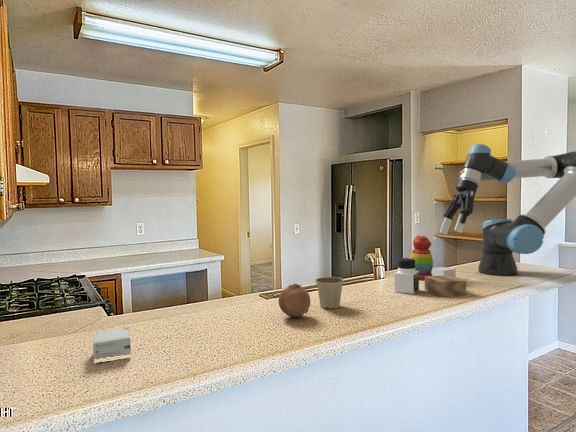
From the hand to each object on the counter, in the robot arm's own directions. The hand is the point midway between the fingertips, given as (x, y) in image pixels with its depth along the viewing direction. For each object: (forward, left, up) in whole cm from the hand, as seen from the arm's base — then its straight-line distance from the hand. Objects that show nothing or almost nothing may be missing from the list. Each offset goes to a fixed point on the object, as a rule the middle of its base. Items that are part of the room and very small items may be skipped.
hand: (450, 232), depth 157 cm
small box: (+112, +48, -20) cm, 124 cm away
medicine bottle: (+21, +7, -20) cm, 30 cm away
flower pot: (+53, +20, -20) cm, 60 cm away
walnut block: (+9, +12, -20) cm, 25 cm away
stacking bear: (+5, -13, -20) cm, 25 cm away
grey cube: (+2, -1, -20) cm, 20 cm away
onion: (+66, +29, -20) cm, 75 cm away
